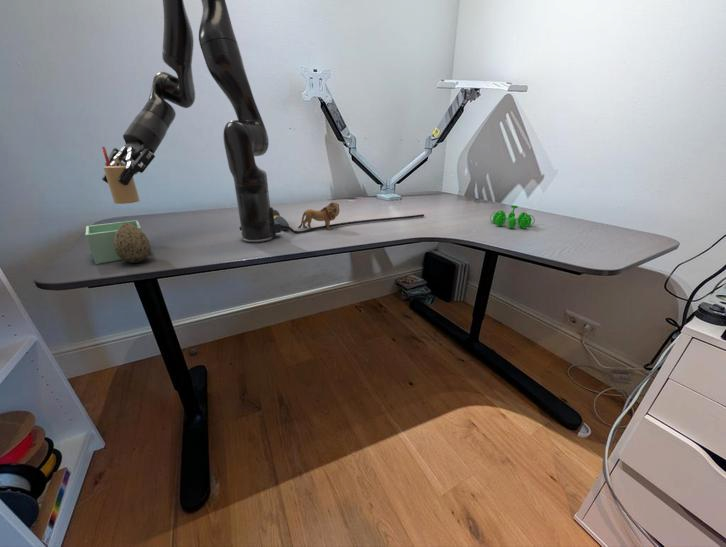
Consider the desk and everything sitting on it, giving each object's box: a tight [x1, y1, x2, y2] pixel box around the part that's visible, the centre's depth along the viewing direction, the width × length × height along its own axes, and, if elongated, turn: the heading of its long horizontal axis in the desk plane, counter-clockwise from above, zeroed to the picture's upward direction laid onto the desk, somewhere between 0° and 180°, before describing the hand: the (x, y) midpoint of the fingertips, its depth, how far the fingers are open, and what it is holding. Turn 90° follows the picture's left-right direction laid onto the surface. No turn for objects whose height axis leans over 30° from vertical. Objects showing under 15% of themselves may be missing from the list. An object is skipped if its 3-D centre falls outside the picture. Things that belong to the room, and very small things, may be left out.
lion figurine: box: [297, 201, 341, 231], centre depth 107 cm, size 15×5×9 cm, turn 103°
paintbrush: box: [273, 208, 290, 231], centre depth 112 cm, size 20×5×5 cm, turn 38°
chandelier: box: [489, 205, 536, 230], centre depth 114 cm, size 15×15×7 cm
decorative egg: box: [114, 223, 151, 264], centre depth 76 cm, size 7×7×10 cm
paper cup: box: [101, 146, 141, 205], centre depth 81 cm, size 6×6×14 cm
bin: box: [84, 219, 143, 265], centre depth 82 cm, size 11×10×8 cm
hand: (114, 182), depth 80 cm, fingers closed on paper cup, 5 cm apart
